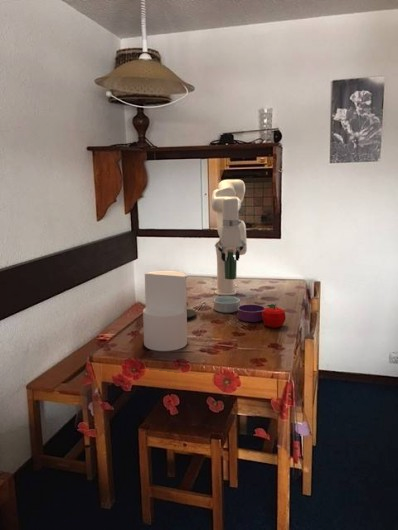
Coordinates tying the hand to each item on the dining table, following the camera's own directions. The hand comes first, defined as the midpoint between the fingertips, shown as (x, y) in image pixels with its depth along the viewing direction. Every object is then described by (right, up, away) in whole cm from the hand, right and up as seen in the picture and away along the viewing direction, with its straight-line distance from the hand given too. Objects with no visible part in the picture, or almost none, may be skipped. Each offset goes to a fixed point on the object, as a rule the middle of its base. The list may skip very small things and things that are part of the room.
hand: (230, 260), depth 222 cm
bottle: (0, -9, +2) cm, 9 cm away
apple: (+18, -30, -18) cm, 39 cm away
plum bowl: (+9, -27, -8) cm, 30 cm away
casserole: (-29, -27, -4) cm, 40 cm away
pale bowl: (-1, -25, +7) cm, 26 cm away
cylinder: (-29, -34, -39) cm, 59 cm away
